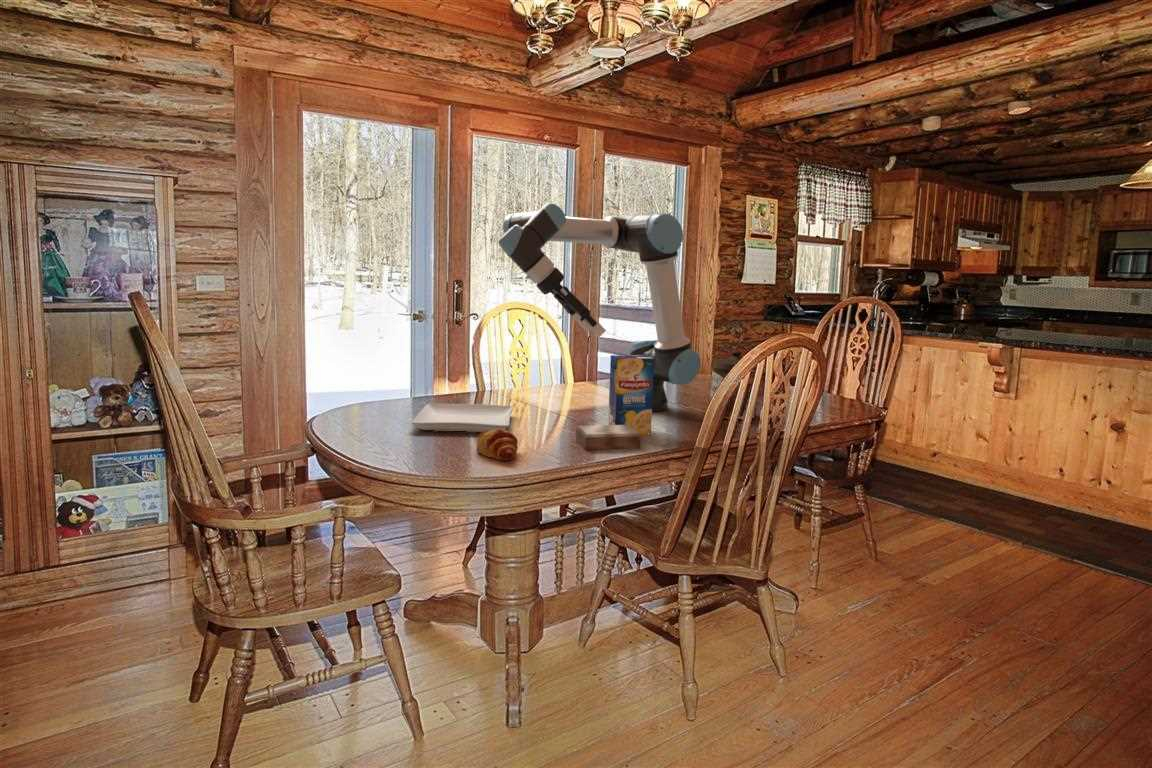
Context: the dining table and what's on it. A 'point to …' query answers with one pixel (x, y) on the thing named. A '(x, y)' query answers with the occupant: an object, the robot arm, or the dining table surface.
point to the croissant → (497, 444)
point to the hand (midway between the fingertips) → (596, 331)
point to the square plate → (463, 417)
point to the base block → (608, 437)
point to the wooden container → (719, 372)
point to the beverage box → (631, 391)
